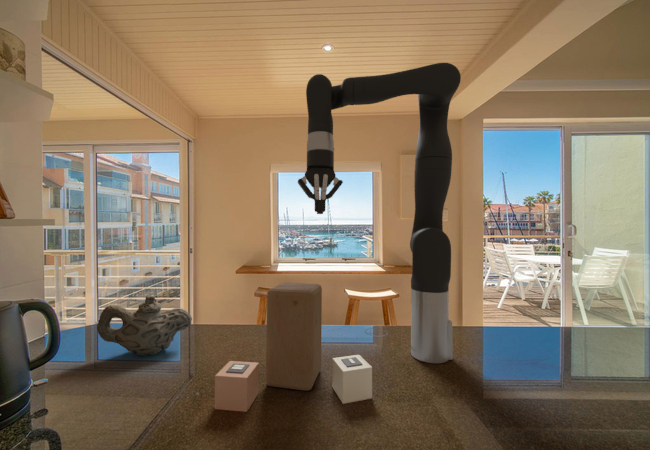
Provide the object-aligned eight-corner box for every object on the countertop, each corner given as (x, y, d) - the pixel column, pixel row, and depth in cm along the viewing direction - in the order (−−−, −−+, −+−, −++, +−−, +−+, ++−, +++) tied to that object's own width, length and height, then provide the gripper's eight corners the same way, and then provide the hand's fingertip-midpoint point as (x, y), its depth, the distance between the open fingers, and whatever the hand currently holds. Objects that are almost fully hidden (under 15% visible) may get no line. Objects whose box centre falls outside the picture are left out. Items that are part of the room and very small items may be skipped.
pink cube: (258, 393, 57) (258, 360, 57) (246, 412, 51) (247, 375, 51) (229, 391, 58) (230, 359, 58) (214, 409, 52) (215, 373, 52)
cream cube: (358, 383, 61) (359, 353, 61) (372, 398, 55) (372, 365, 56) (332, 387, 59) (332, 356, 59) (342, 404, 54) (343, 369, 54)
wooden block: (311, 393, 57) (312, 291, 57) (264, 387, 59) (265, 289, 59) (322, 369, 67) (322, 283, 67) (281, 365, 69) (282, 281, 69)
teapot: (191, 339, 85) (192, 288, 85) (191, 354, 75) (193, 295, 75) (102, 351, 76) (103, 294, 76) (88, 370, 65) (90, 304, 66)
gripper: (341, 156, 85) (340, 215, 84) (296, 154, 83) (295, 214, 82) (346, 149, 77) (346, 213, 77) (297, 146, 75) (296, 212, 75)
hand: (319, 213), depth 80 cm, fingers closed
